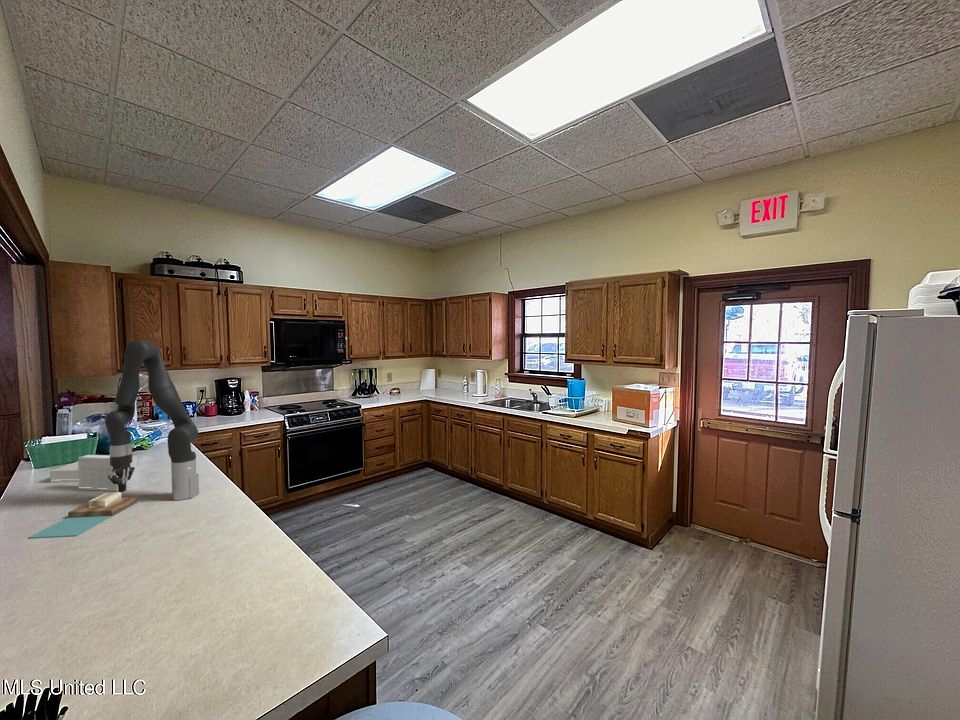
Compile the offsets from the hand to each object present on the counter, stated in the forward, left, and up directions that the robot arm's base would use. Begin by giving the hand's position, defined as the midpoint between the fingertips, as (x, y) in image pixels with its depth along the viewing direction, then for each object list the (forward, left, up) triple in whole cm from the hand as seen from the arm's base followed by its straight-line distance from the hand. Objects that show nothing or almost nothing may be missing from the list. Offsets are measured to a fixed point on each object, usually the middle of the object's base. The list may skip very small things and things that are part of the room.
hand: (122, 491), depth 180 cm
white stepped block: (+40, -39, -4) cm, 56 cm away
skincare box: (+20, -16, -4) cm, 26 cm away
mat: (0, +26, -4) cm, 26 cm away
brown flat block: (0, +11, -4) cm, 11 cm away
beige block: (0, +10, -2) cm, 10 cm away
